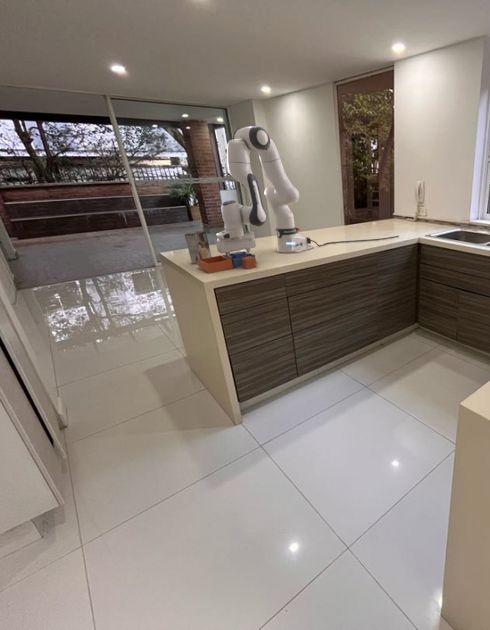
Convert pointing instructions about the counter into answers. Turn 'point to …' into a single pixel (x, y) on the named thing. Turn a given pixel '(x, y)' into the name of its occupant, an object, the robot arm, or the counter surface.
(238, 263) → the blue bin
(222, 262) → the clay bin
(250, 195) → the robot arm
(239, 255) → the blue block
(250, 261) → the clay block
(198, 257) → the coffee box
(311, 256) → the counter surface
